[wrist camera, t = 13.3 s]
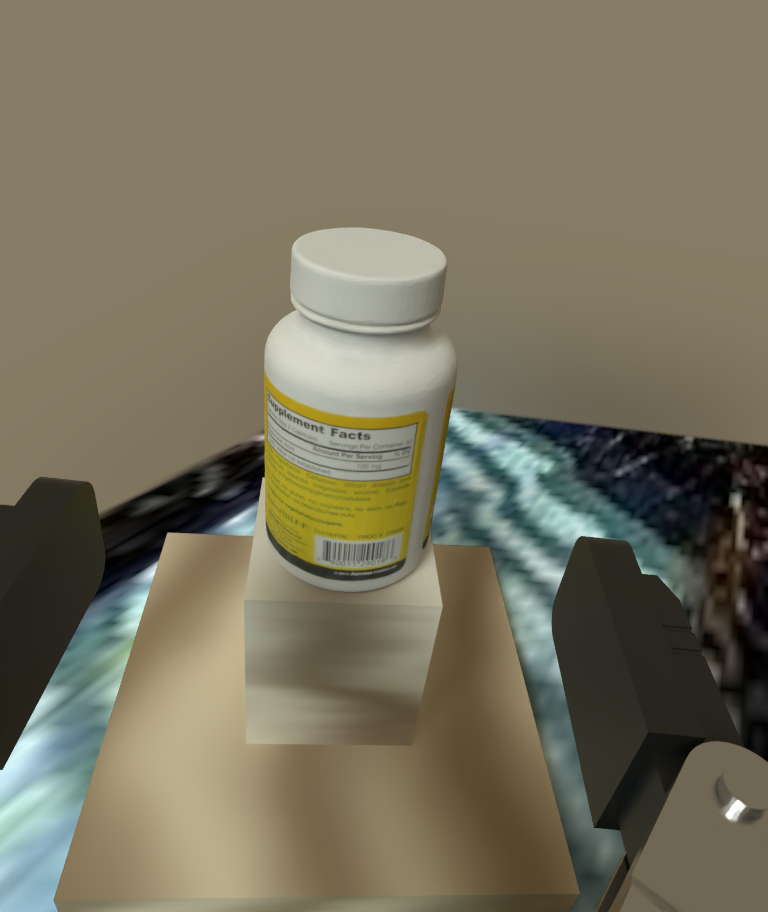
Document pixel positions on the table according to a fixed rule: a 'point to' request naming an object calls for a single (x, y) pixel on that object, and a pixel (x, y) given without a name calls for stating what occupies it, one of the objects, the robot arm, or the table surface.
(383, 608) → the pedestal
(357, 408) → the supplement bottle
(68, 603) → the robot arm
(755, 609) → the table surface
